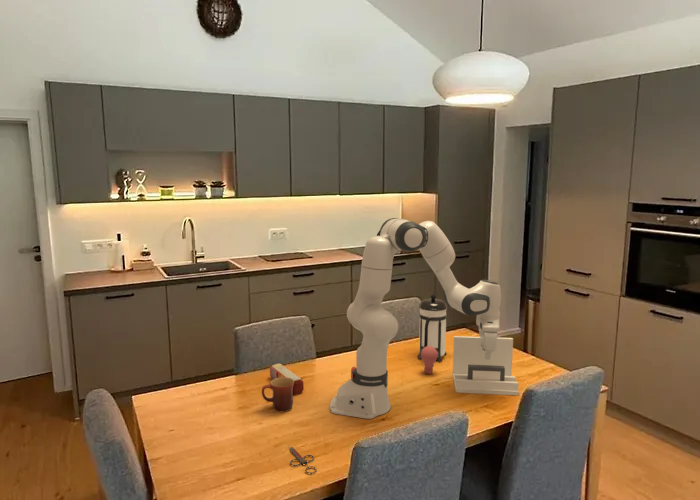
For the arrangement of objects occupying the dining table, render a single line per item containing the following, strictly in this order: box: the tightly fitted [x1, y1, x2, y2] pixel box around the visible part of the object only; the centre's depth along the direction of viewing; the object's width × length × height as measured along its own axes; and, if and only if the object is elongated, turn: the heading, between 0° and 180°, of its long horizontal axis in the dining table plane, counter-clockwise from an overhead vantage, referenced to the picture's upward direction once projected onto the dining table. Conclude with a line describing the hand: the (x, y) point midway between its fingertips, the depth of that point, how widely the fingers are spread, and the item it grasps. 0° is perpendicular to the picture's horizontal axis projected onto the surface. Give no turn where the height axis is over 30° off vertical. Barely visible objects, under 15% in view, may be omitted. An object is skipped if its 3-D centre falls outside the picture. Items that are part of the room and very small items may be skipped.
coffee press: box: [417, 294, 448, 363], centre depth 235 cm, size 17×16×30 cm
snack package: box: [269, 363, 305, 396], centre depth 209 cm, size 21×7×7 cm, turn 31°
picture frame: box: [467, 365, 505, 381], centre depth 204 cm, size 14×3×8 cm, turn 83°
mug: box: [261, 377, 294, 412], centre depth 188 cm, size 12×9×10 cm
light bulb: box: [420, 346, 438, 374], centre depth 220 cm, size 7×7×12 cm
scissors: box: [289, 446, 318, 475], centre depth 156 cm, size 8×18×2 cm, turn 31°
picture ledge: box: [452, 335, 520, 396], centre depth 207 cm, size 24×17×18 cm
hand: (486, 354), depth 202 cm, fingers open, 8 cm apart
